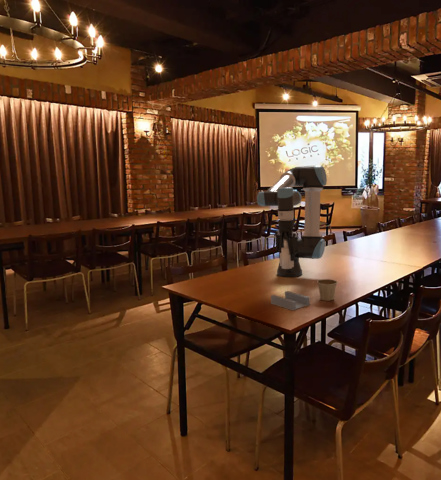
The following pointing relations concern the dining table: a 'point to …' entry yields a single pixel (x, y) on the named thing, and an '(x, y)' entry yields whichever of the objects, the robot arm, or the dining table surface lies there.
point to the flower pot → (327, 289)
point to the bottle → (285, 255)
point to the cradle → (291, 300)
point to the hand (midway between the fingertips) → (286, 266)
